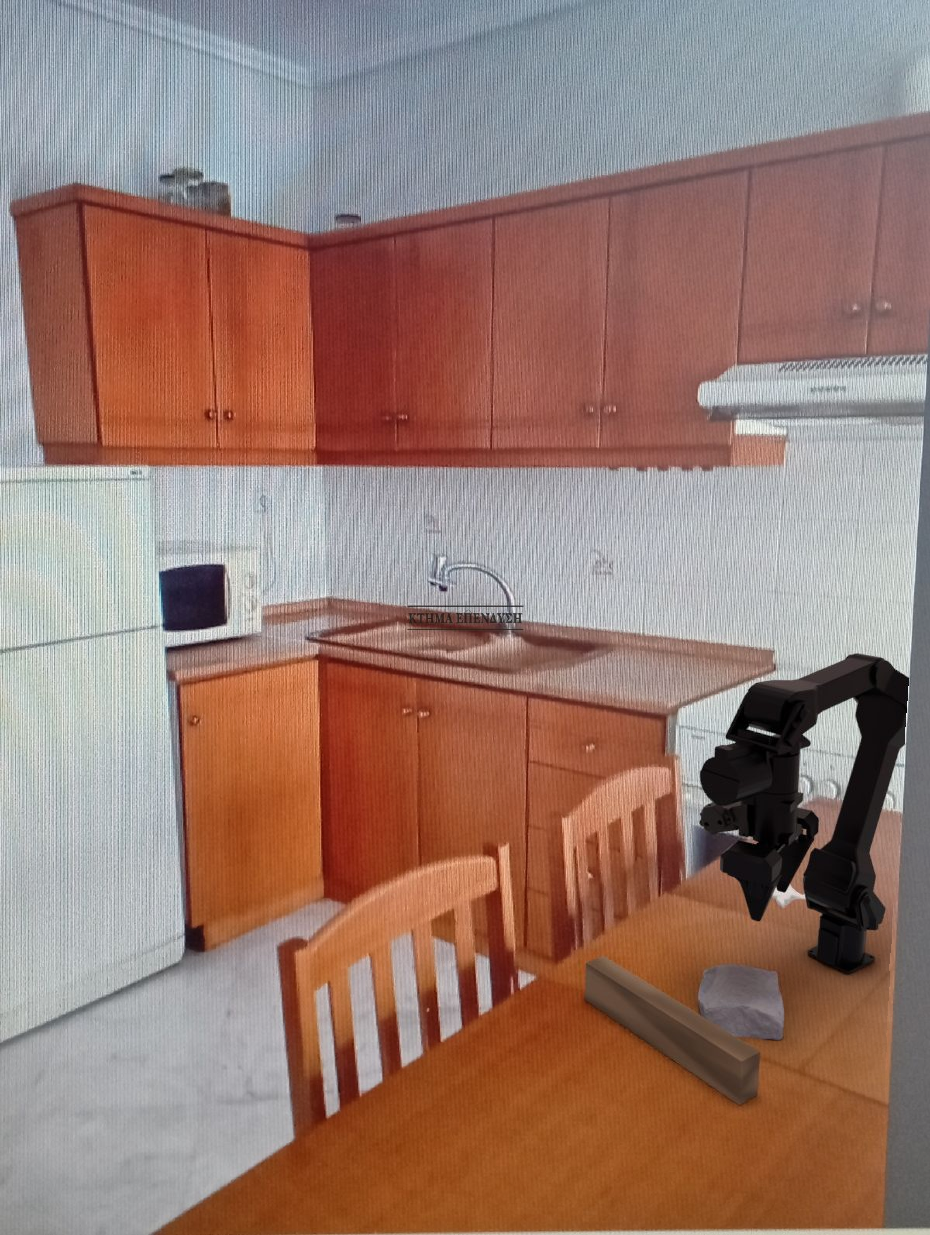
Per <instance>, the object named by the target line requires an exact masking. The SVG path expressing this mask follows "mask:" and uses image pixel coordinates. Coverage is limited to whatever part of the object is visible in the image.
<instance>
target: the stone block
mask: <svg viewBox="0 0 930 1235" xmlns="http://www.w3.org/2000/svg"><path fill="white" fill-rule="evenodd" d="M778 977H779V976H778V972H777V971H775V970H773V971H769V970H766V969H761V968H760V967H759V968H758V967H752V966H749V965H744V964H743V965H741V964H732V963H729V964H722V965H714V966H712V967H708V968H707V969H706V970H704V971H703V973H702V980H701V981H700V985H699V988H698V994H697V1002H698V1004H699V1005H698V1006H699V1011H700V1012H699V1014H700V1015H701V1016H703V1017H704V1018H706V1019H708V1020H709V1021H711V1022H712V1023H714V1024H716V1025H717V1026H719V1027H721V1028H722V1029H724V1030H726V1031H727V1032H729V1033H730V1034H732V1035H734V1036H735V1037H737V1038H755V1039H760V1040H773V1041H774V1040H775V1041H781V1040H782V1039H783V1037H784V1027H785V1008H784V1007H785V1006H784V1001H783V996H782V993H781V992H780V987H779V978H778Z"/></svg>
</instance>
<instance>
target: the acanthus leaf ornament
mask: <svg viewBox="0 0 930 1235" xmlns="http://www.w3.org/2000/svg"><path fill="white" fill-rule="evenodd" d="M771 900H776V904H777V905H778V906H779V907H780V908H781V909H785V908H786V906H788V905H790V904H791V903H792V902H793V901H794V900H805V901H806V898H805V893H803V894H802V893H799V892H797V890H796V889H794V887H793V886H792V885H791V883H790V885H789V887H788V889H787V891H786V892H785V893H783V892H780V891H778V890H777V888H775V891H774V893H773V895H772V897H771Z"/></svg>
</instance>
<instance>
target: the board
mask: <svg viewBox="0 0 930 1235" xmlns="http://www.w3.org/2000/svg"><path fill="white" fill-rule="evenodd" d="M584 980H585V983H584V985H585V986H584V989H585V990H584V1001H586V1002H587V1003H589V1004H590V1005H592V1006H593V1007H595V1008H596V1009H597V1010H599V1011H601V1012H602V1013H603V1014H605V1015H606V1016H607V1017H609V1018H611V1019H612V1020H614V1021H615V1022H617V1023H618V1024H620V1026H623V1027H624V1028H625V1029H627V1030H628V1031H629V1032H630V1033H633V1034H635V1035H636V1036H637V1037H638V1038H640V1039H641V1040H643V1041H644V1042H646V1043H647V1044H649V1045H651V1046H652V1047H653V1048H655V1049H656V1050H658V1052H661V1053H663V1055H665V1056H666V1057H667V1058H670V1059H671V1060H673V1061H674V1062H676V1064H678V1065H680V1066H681V1067H683V1068H684V1069H686V1070H687V1071H688V1072H690V1073H691V1074H692V1075H693V1076H696V1077H697V1078H699V1079H700V1080H702V1081H703V1082H705V1083H706V1084H707V1085H709V1086H710V1087H712V1088H713V1089H715V1090H716V1091H717V1092H719V1093H720V1094H722V1095H723V1096H725V1097H727V1099H729V1100H731V1101H732V1102H734V1103H735V1104H737V1105H738V1106H740V1105H743V1104H744V1103H745V1102H746V1103H747V1101H749V1100H751V1099H752V1098H754V1097H756V1096H758V1094H759V1091H758V1090H759V1079H760V1078H759V1077H760V1061H761V1060H760V1059H761V1051H760V1050H758V1049H757V1048H755V1047H754V1046H751V1045H750V1044H749V1043H747V1042H745V1041H743V1040H742V1039H740V1037H735V1036H734V1035H732V1034H730V1033H729V1032H727V1031H726V1030H724V1029H722V1028H721V1027H719V1026H717V1025H716V1024H714V1023H712V1022H711V1021H709V1020H708V1019H706V1018H704V1017H703V1016H701V1014H700V1013H697V1012H696V1011H694V1010H693V1009H692V1008H690V1007H688V1006H686V1005H685V1004H683V1003H681V1002H680V1001H678V1000H676V999H675V998H673V997H671V996H670V995H668V994H667V993H665V992H663V991H662V990H661V989H658V988H657V987H655V986H653V985H652V984H650V983H649V982H647V981H645V980H644V979H642V978H641V977H639V976H637V975H635V974H634V973H632V972H630V971H629V970H628V969H626V968H624V967H622V965H619V964H618V963H616V962H614V961H613V960H611V959H609V958H608V957H606V956H605V955H603V956H600V957H597V958H595V959H592V960H589V961H587V962H585V978H584Z"/></svg>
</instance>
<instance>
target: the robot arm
mask: <svg viewBox="0 0 930 1235" xmlns="http://www.w3.org/2000/svg"><path fill="white" fill-rule="evenodd" d="M909 678H910V677H909V676H907V675H905V674H904V673H902V672H901V671H899V670H898V669H896V668H895V667H894V666H893V665H892V663H891V662H890V661H889V660H886V659H885V657H880V656H875V655H870V654H869V655H868V654H864V653H859V652H857V653H853V654H848V655H847V656H846V657H845V659H842V660H840V661H838V662H836V663H832V664H830V665H828V666H826V667H824V668H821V669H819V670H817V671H815V672H812V673H808V674H806V675H804V676H802V677H800V678H797V679H771V680H770V679H769V680H764V681H757V682H755V683H754V684H752V685H751V686H750V687H749V688H748V689H747V692H746V693H745V695H744V696H743V699H742V700H741V702H740V705H739V707H738V709H737V711H736V713H735V715H734V717H733V719H732V721H731V723H730V725H729V727H728V729H727V731H726V733H725V739H726V740H727V741H731V742H732V743H729V744H720V745H717V746H715V747H714V751H713V752H714V755H713V756H711V757H709V758H708V759H707V760H705V761H704V762H703V764H702V767H701V769H700V770H699V783H700V785H701V788H702V790H703V793H704V794H705V796H707V798H708V799H709V800H710V801H711V802H710V803H707V804H706V805H705V806H703V807H702V809H701V811H700V813H699V816H700V820H699V825H700V827H702V828H703V830H705V831H706V832H707V833H708V835H710V836H715V835H718V834H719V833H727V832H733V831H734V832H735V831H738V834H737V835H738V837H742V838H750V837H751V838H752V840H753V841H755V842H756V843H753V842H748V841H745V840H739V839H738V840H736V841H735V842H733V843H732V844H731V845H730V846H729V847H727V848H726V849H725V850H724V851H723V852H722V853H721V854H720V856H719V858H720V860H719V871H721V872H722V873H723V874H726V875H727V876H729V877H732V878H734V879H735V880H737V882H738V883H739V884H740V887H741V890H742V893H743V895H744V899H745V902H746V905H747V906H746V907H747V909H748V913H749V915H750V919H751V920H752V921H755V922H757V923H758V922H761V921H762V919H763V917H764V915H765V913H766V911H767V908H768V907H769V905H770V902H771V900H772V899H771V897H772V895H773V893H774V891H775V888H777V890H778V891H780V892H783V893H785V892H786V891H787V889H788V887H789V885H790V884H791V883H792V881H793V880H794V877H795V875H797V874H796V873H797V872H798V870H799V868H800V866H801V865H802V863H803V860H804V859H805V857H806V856H807V853H808V851H809V849H810V847H811V846H812V844H813V843H814V841H815V837H816V835H817V834H818V833H819V827H820V826H819V825H820V823H819V822H820V818H819V817H818V816H817V814H816V813H815V812H814V811H813V810H810V809H806V808H801V807H799V805H800V804H801V803H803V801H804V792H800V790H799V787H800V785H799V784H800V766H801V765H800V763H801V762H800V761H801V750H802V749H804V748H808V747H811V744H812V743H811V742H812V741H811V740H810V739H809V738H808V737H806V736H805V735H804V734H805V733H806V732H808V731H810V730H811V729H812V728H813V727H815V726H816V725H817V723H818V717H819V715H820V714H821V713H822V712H824V711H827V710H829V709H832V708H833V707H835V706H838V705H840V704H842V703H844V702H847V701H849V700H850V699H853V700H854V701H855V702H856V703H857V705H856V709H855V714H854V716H855V720H856V723H857V727H858V730H859V734H860V741H859V745H858V749H857V751H856V754H855V759H854V761H853V766H852V769H851V772H850V776H849V778H848V782H847V786H846V789H845V792H844V796H843V798H842V803H841V806H840V808H839V813H838V816H837V819H836V821H835V822H836V823H835V826H834V830H833V833H832V836H831V839H830V840H829V841H828V842H826V844H824V845H823V846H822V847H821V848H817V847H814V848H813V849H812V851H810V852H809V853H810V854H809V857H808V859H809V860H808V863H807V866H806V869H805V870H804V872H803V875H802V876H803V877H802V878H803V879H802V888H803V894H805V898H806V900H805V902H806V907H807V909H809V910H812V911H815V912H816V913H817V912H818V913H819V914H821V915H820V916H819V923H818V924H819V926H818V930H817V945H816V946H814V947H812V948H810V949H808V950H807V953H806V954H807V955H808V956H810V957H812V958H813V959H815V960H818V961H820V962H821V963H824V964H826V965H828V966H831V967H832V968H834V969H836V970H838V971H840V972H843V973H845V974H852V973H854V972H856V971H858V970H860V969H862V968H864V967H866V966H869V965H871V963H874V962H875V961H876V956H874V955H872V954H870V953H868V952H866V944H867V931H879V926H880V925H881V924H882V923H883V920H884V919H885V914H886V913H885V912H886V907H885V905H884V904H883V902H882V901H881V900H880V898H879V897H878V896H877V895H876V893H875V891H874V890H875V884H876V879H877V875H876V871H875V868H874V864H873V861H872V856H871V853H870V852H871V849H872V846H873V845H872V844H873V841H874V838H875V834H876V831H877V828H878V824H879V820H880V817H881V814H882V810H883V806H884V805H885V804H884V803H885V800H886V796H887V794H888V791H889V786H890V782H891V780H892V776H893V772H894V769H895V765H896V763H897V760H898V756H899V752H900V750H901V749H902V748H903V747H904V746H906V744H905V727H906V713H907V701H908V686H909ZM749 727H750V728H753V729H757V730H760V731H763V732H766V733H771V734H773V735H769V734H765V733H762V732H758V731H755V730H751V729H749ZM804 830H805V834H804Z"/></svg>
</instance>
